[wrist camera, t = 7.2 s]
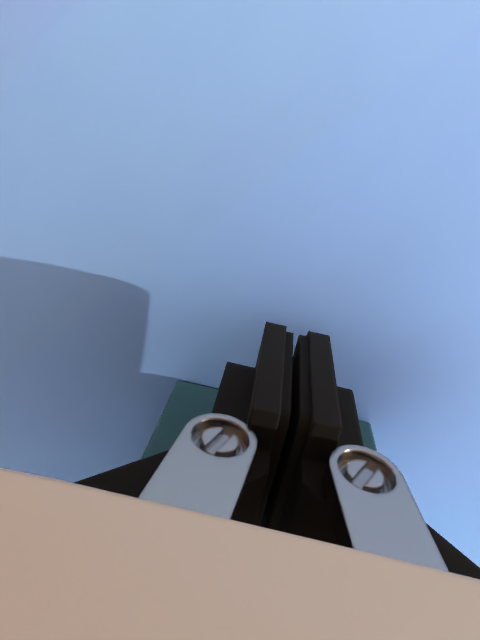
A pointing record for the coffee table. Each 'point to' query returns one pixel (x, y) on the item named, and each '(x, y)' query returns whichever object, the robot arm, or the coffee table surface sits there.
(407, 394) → the coffee table surface
